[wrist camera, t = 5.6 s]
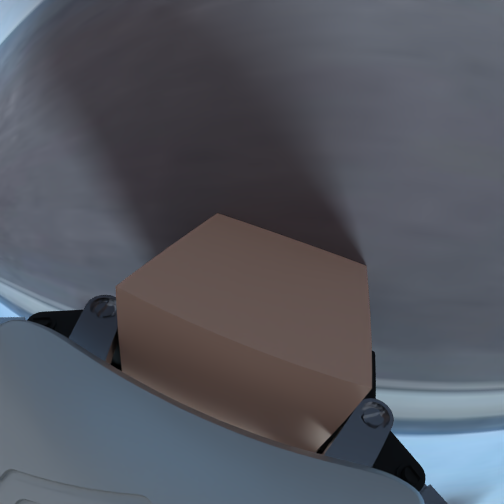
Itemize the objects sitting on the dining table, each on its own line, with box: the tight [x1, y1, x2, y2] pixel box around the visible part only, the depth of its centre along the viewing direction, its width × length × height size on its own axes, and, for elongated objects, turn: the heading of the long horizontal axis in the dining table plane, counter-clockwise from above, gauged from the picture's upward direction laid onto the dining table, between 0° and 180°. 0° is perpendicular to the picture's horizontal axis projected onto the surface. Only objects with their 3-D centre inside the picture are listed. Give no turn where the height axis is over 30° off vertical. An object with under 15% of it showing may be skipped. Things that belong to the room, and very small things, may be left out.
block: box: [116, 213, 372, 452], centre depth 10 cm, size 6×6×6 cm
